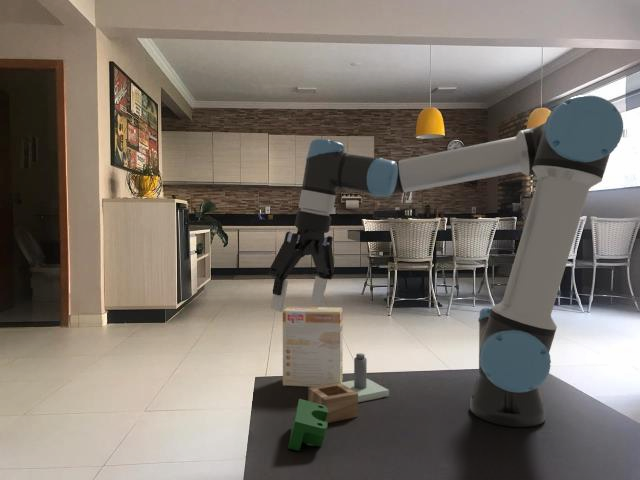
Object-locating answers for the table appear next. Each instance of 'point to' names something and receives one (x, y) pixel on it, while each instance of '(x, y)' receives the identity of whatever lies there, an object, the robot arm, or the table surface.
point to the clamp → (308, 424)
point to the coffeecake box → (312, 346)
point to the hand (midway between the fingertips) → (297, 307)
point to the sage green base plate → (364, 382)
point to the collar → (335, 401)
